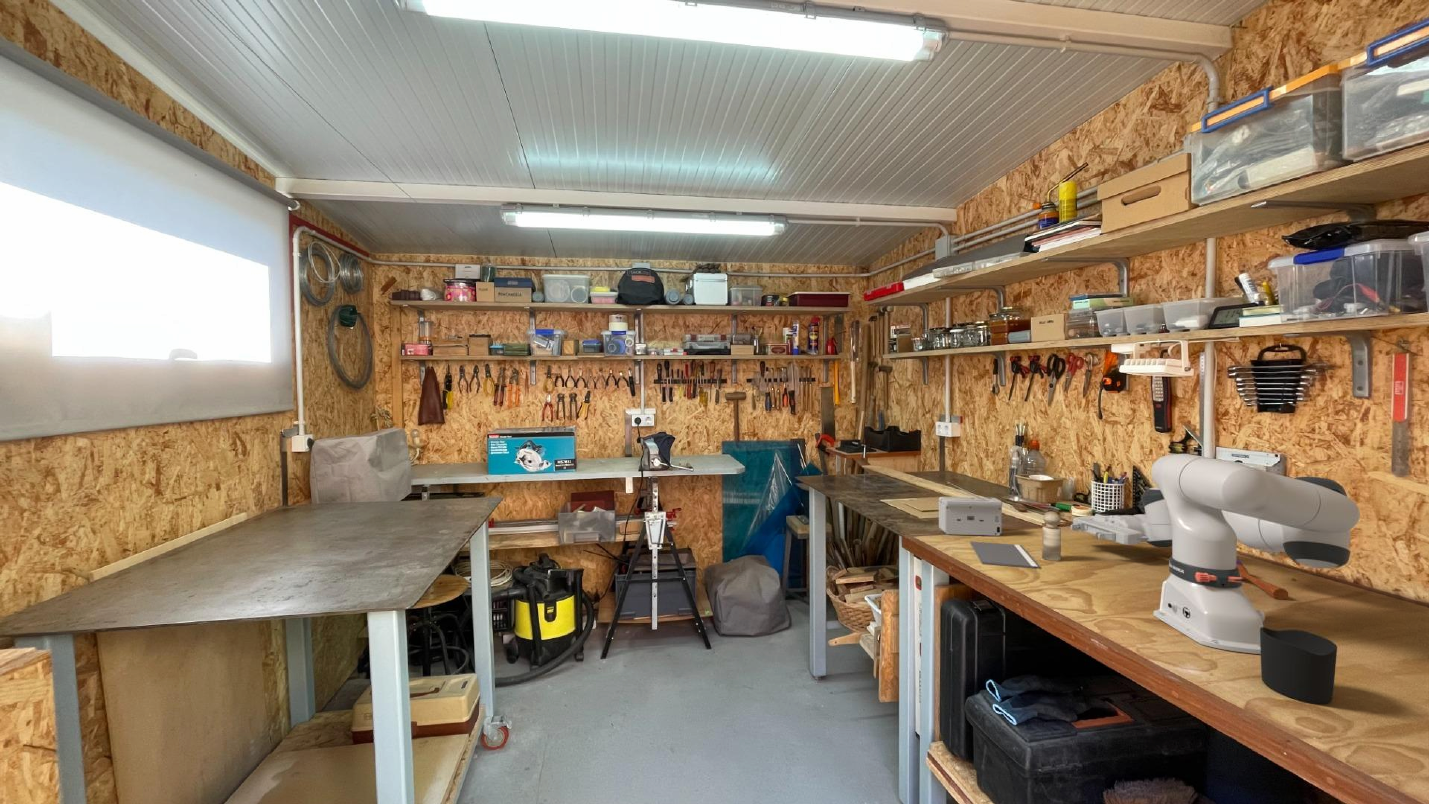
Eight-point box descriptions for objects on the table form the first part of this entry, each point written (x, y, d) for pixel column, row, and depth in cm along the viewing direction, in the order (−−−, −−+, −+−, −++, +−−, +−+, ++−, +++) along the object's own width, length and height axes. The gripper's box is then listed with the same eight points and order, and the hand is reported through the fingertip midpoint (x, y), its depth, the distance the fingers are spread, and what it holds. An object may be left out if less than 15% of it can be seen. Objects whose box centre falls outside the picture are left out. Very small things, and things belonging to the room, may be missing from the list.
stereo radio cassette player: (995, 531, 199) (995, 479, 198) (1004, 537, 191) (1004, 483, 190) (938, 529, 202) (938, 478, 201) (944, 535, 194) (944, 482, 193)
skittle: (1062, 562, 164) (1063, 514, 164) (1044, 560, 166) (1045, 513, 165) (1057, 556, 169) (1058, 510, 169) (1040, 555, 171) (1040, 509, 170)
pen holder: (1332, 713, 89) (1334, 656, 89) (1254, 687, 97) (1255, 635, 97) (1338, 693, 95) (1339, 639, 94) (1263, 671, 102) (1265, 621, 102)
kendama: (1265, 585, 135) (1208, 554, 155) (1268, 606, 135) (1210, 573, 155) (1292, 582, 134) (1231, 551, 153) (1295, 604, 134) (1234, 570, 154)
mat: (1040, 568, 159) (1040, 566, 159) (982, 563, 164) (982, 561, 164) (1021, 546, 180) (1021, 545, 180) (970, 543, 185) (970, 541, 185)
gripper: (1152, 548, 161) (1113, 551, 159) (1094, 530, 181) (1059, 532, 179) (1152, 528, 161) (1114, 530, 159) (1094, 512, 181) (1059, 514, 179)
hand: (1084, 531), depth 169 cm, fingers open, 8 cm apart
